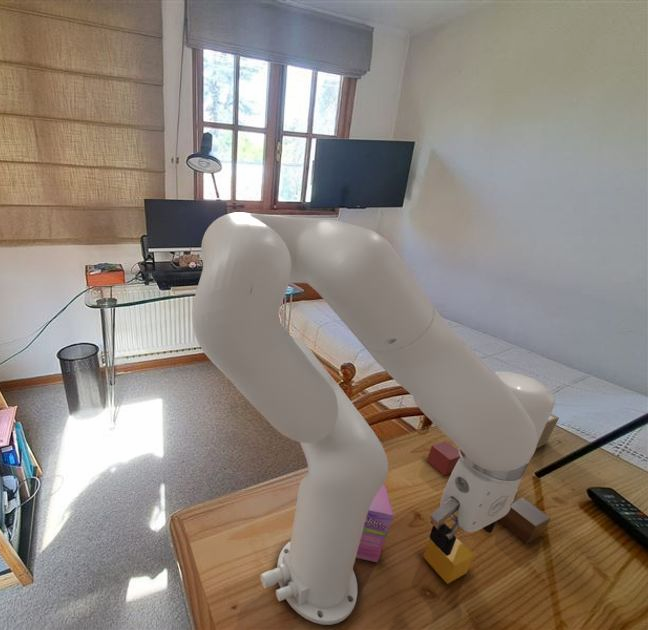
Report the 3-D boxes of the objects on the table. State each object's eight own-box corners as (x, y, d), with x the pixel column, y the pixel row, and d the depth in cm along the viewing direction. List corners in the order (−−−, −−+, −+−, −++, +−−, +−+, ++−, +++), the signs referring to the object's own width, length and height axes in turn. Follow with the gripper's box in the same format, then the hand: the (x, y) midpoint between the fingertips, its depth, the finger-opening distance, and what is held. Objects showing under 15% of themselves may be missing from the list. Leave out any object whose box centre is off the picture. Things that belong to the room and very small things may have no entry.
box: (379, 563, 57) (394, 515, 53) (344, 556, 58) (356, 507, 54) (368, 509, 67) (380, 464, 62) (338, 503, 68) (348, 458, 63)
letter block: (447, 584, 55) (455, 565, 53) (422, 556, 59) (429, 538, 57) (466, 573, 56) (474, 555, 55) (441, 547, 60) (448, 529, 59)
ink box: (529, 434, 89) (542, 408, 86) (547, 444, 86) (560, 417, 83) (506, 444, 85) (518, 417, 82) (523, 455, 82) (536, 427, 79)
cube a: (526, 544, 61) (535, 526, 60) (499, 521, 65) (507, 504, 64) (541, 535, 63) (550, 518, 61) (514, 514, 67) (522, 497, 65)
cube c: (444, 475, 75) (450, 460, 74) (426, 460, 79) (431, 445, 78) (458, 470, 77) (464, 454, 75) (440, 455, 81) (445, 440, 79)
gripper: (477, 495, 42) (444, 580, 49) (559, 456, 48) (519, 537, 55) (425, 452, 49) (401, 533, 55) (503, 423, 55) (473, 499, 61)
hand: (460, 535), depth 55 cm, fingers open, 9 cm apart
